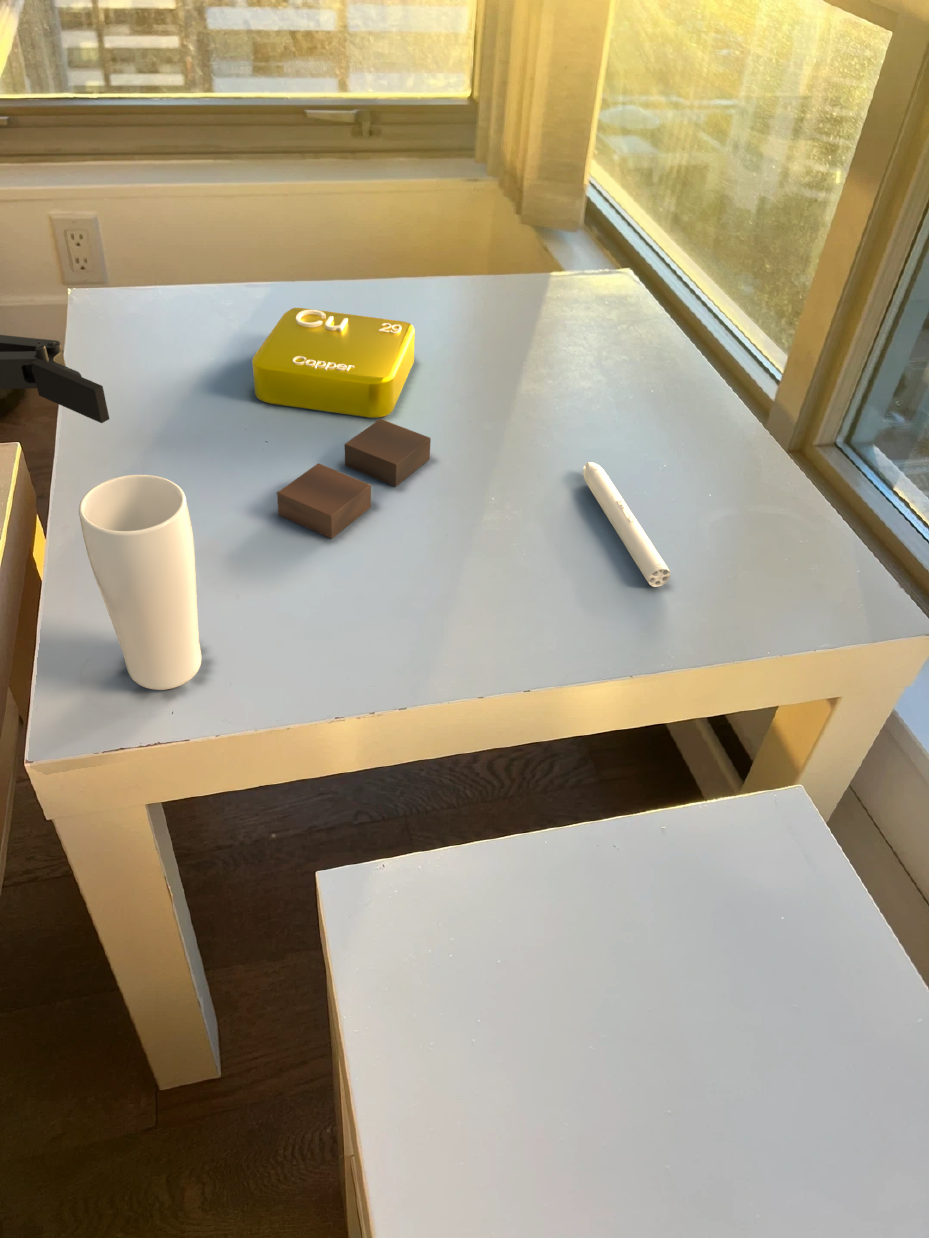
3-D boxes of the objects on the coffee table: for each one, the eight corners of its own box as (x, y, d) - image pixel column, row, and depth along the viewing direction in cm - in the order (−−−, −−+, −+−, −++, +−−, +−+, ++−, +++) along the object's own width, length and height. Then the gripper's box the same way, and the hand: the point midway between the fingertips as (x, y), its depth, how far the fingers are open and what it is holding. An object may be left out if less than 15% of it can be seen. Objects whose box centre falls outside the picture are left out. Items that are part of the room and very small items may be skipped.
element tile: (249, 402, 101) (245, 360, 98) (290, 340, 112) (288, 300, 109) (389, 422, 100) (390, 380, 97) (417, 357, 111) (418, 317, 108)
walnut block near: (331, 539, 84) (331, 516, 83) (278, 515, 86) (276, 492, 85) (371, 507, 88) (371, 484, 87) (319, 485, 90) (318, 462, 89)
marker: (575, 473, 95) (578, 452, 93) (594, 471, 95) (598, 451, 94) (645, 588, 82) (651, 567, 81) (668, 586, 83) (674, 564, 81)
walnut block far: (395, 487, 91) (396, 464, 89) (344, 466, 93) (344, 444, 91) (429, 459, 95) (431, 437, 93) (380, 440, 97) (380, 418, 95)
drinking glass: (227, 679, 71) (203, 514, 61) (137, 714, 68) (97, 546, 58) (191, 625, 75) (163, 462, 65) (105, 656, 72) (62, 490, 62)
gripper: (-18, 339, 83) (166, 418, 75) (-323, 469, 66) (-126, 586, 59) (-43, 252, 78) (151, 328, 70) (-381, 370, 61) (-173, 484, 54)
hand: (25, 446), depth 65 cm, fingers open, 13 cm apart
